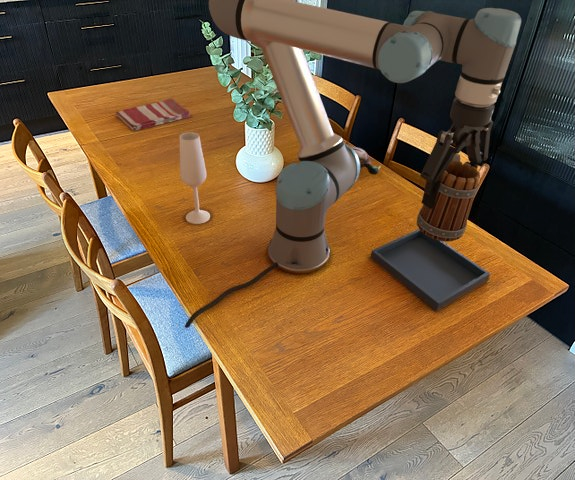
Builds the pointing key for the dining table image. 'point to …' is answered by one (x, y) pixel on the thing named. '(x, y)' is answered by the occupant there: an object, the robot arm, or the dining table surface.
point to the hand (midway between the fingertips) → (445, 197)
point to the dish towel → (153, 114)
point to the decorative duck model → (365, 160)
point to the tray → (430, 268)
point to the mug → (450, 202)
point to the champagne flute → (193, 172)
